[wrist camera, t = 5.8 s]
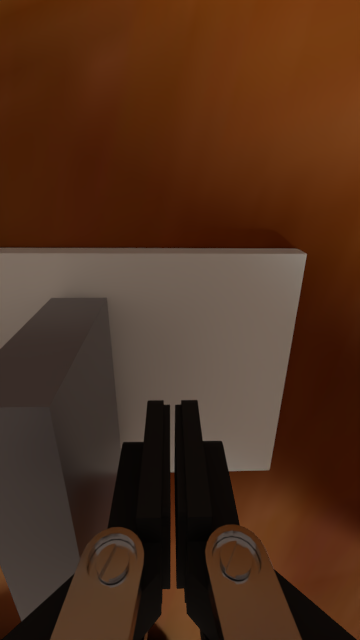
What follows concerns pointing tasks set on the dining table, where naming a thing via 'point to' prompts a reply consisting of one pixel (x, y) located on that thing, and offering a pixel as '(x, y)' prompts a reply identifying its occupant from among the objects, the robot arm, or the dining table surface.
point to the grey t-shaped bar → (55, 445)
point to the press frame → (179, 331)
